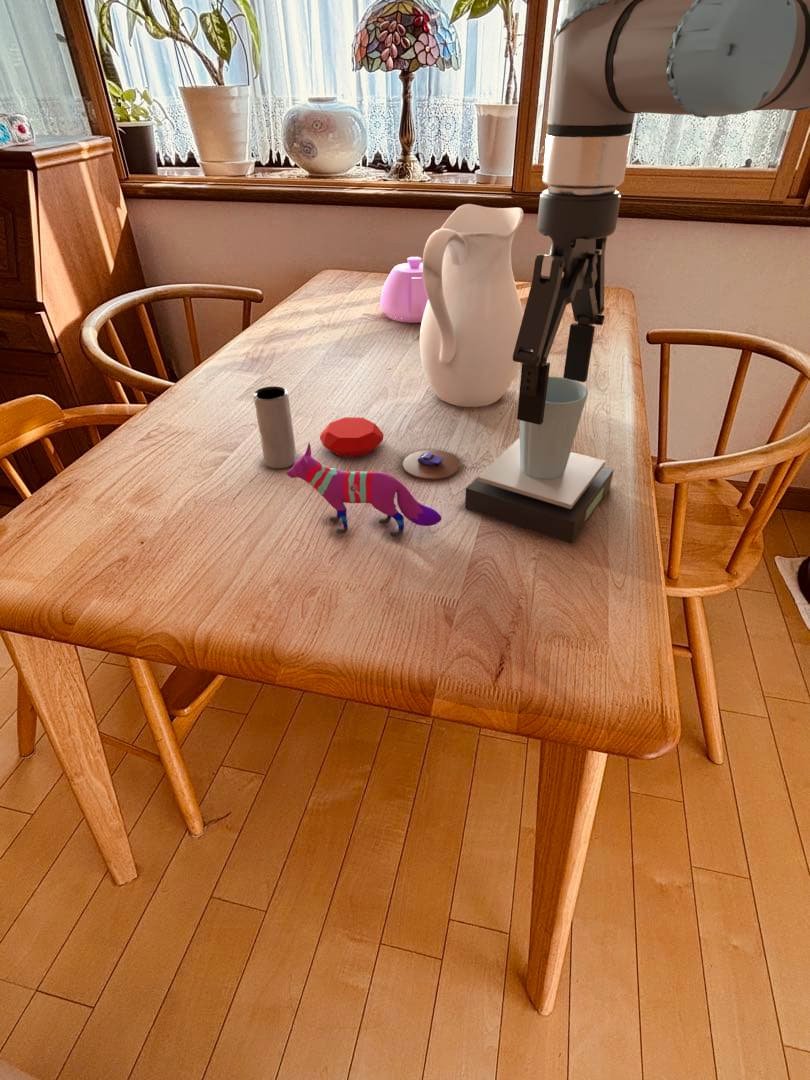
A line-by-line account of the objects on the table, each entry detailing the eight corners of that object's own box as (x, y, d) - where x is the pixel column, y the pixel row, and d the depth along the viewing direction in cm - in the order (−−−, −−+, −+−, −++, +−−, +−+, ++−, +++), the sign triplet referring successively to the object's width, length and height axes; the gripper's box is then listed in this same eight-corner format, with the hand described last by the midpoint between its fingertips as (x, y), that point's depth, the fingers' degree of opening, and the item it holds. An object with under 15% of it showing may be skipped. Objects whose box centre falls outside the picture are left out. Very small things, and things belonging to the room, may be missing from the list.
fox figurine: (297, 516, 77) (286, 441, 71) (442, 522, 76) (444, 447, 70) (289, 533, 74) (278, 457, 68) (440, 540, 73) (442, 463, 67)
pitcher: (449, 368, 116) (454, 200, 99) (534, 386, 109) (555, 208, 92) (378, 417, 100) (370, 225, 83) (472, 442, 92) (484, 237, 76)
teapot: (453, 328, 135) (455, 269, 127) (381, 330, 134) (379, 271, 127) (443, 299, 152) (444, 245, 145) (379, 301, 152) (377, 247, 144)
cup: (527, 489, 73) (538, 406, 67) (500, 459, 79) (508, 380, 73) (585, 478, 75) (600, 397, 69) (554, 450, 81) (566, 373, 75)
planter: (294, 451, 91) (285, 384, 85) (298, 466, 87) (289, 397, 81) (263, 455, 90) (252, 388, 84) (266, 471, 86) (254, 401, 80)
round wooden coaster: (446, 485, 83) (446, 476, 82) (392, 472, 86) (392, 463, 85) (468, 459, 88) (469, 449, 87) (418, 447, 91) (418, 438, 90)
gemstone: (390, 454, 90) (390, 435, 88) (330, 465, 87) (328, 446, 86) (372, 428, 97) (371, 410, 95) (316, 437, 94) (314, 419, 93)
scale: (610, 489, 82) (617, 459, 79) (572, 543, 72) (577, 512, 70) (511, 461, 88) (514, 433, 85) (464, 508, 78) (466, 478, 76)
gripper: (587, 172, 69) (562, 359, 82) (486, 203, 52) (474, 433, 65) (656, 175, 66) (619, 370, 78) (571, 210, 49) (541, 450, 62)
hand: (553, 399), depth 72 cm, fingers open, 13 cm apart
